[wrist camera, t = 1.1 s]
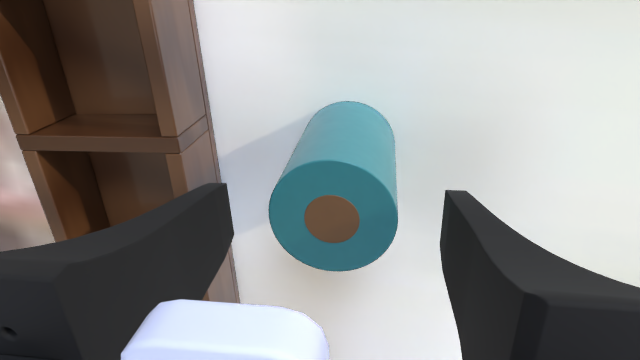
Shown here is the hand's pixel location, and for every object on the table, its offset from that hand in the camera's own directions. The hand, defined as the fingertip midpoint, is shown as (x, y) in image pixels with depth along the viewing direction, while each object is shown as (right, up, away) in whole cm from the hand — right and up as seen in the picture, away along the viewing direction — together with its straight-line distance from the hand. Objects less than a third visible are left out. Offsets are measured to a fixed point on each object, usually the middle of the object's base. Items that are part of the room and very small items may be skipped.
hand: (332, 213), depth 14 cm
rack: (-9, +1, +8) cm, 12 cm away
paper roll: (+1, +3, +5) cm, 6 cm away
